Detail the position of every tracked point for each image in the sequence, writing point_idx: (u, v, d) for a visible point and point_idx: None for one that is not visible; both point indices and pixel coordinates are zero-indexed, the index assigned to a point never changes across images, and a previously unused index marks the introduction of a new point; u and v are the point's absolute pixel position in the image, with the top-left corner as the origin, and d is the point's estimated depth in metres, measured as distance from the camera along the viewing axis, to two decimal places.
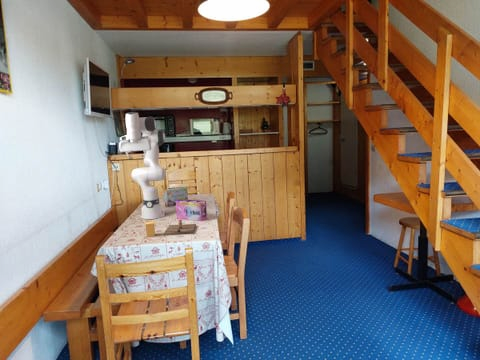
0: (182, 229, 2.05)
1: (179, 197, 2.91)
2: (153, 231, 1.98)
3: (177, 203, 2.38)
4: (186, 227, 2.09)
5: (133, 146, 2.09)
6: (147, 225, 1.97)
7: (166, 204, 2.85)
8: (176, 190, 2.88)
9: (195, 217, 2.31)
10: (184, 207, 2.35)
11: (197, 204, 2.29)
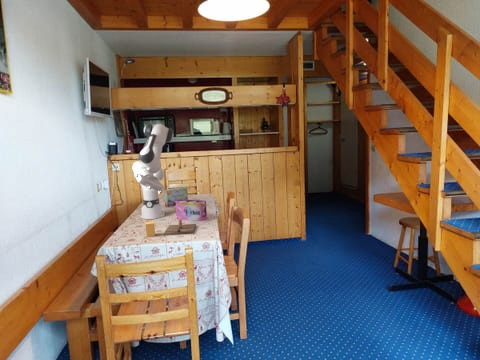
0: (182, 229, 2.05)
1: (179, 197, 2.91)
2: (153, 231, 1.98)
3: (177, 203, 2.37)
4: (186, 227, 2.09)
5: None
6: (147, 225, 1.97)
7: (166, 204, 2.85)
8: (176, 190, 2.88)
9: (194, 217, 2.31)
10: (184, 207, 2.35)
11: (197, 204, 2.29)
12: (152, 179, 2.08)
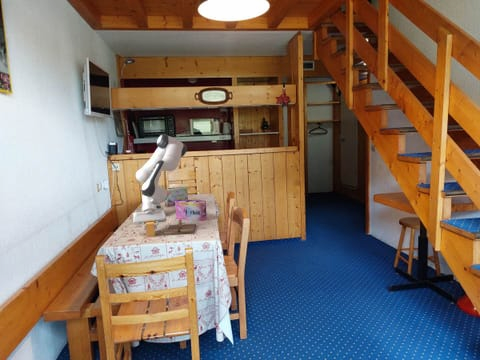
0: (182, 229, 2.05)
1: (179, 197, 2.91)
2: (153, 231, 1.98)
3: (176, 203, 2.37)
4: (186, 227, 2.09)
5: None
6: (147, 225, 1.97)
7: (166, 204, 2.85)
8: (176, 190, 2.88)
9: (194, 217, 2.32)
10: (183, 207, 2.35)
11: (197, 204, 2.29)
12: (152, 212, 2.04)
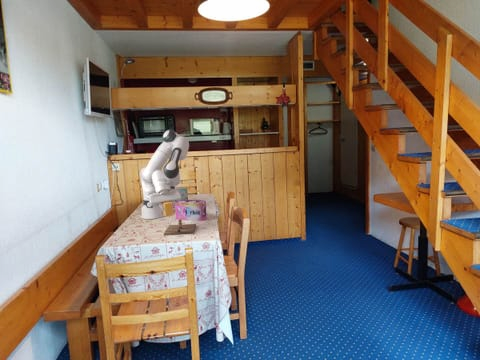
0: (182, 229, 2.05)
1: None
2: (172, 210, 2.01)
3: (176, 203, 2.37)
4: (186, 227, 2.09)
5: None
6: (166, 205, 1.99)
7: None
8: None
9: (194, 217, 2.32)
10: (183, 207, 2.35)
11: (197, 204, 2.29)
12: (166, 193, 2.06)
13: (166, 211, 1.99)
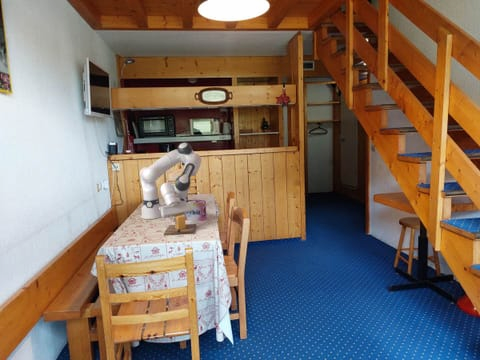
0: (182, 229, 2.05)
1: None
2: (184, 224, 2.06)
3: None
4: (186, 227, 2.09)
5: None
6: (179, 218, 2.04)
7: None
8: None
9: (194, 216, 2.32)
10: None
11: (197, 204, 2.30)
12: (177, 205, 2.11)
13: (179, 224, 2.04)
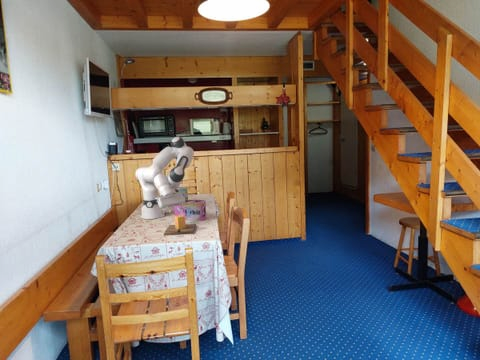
0: (182, 229, 2.05)
1: None
2: (184, 224, 2.06)
3: None
4: (186, 227, 2.09)
5: None
6: (179, 218, 2.04)
7: None
8: None
9: (194, 216, 2.32)
10: (183, 207, 2.34)
11: (197, 203, 2.30)
12: (173, 196, 2.19)
13: (179, 224, 2.04)
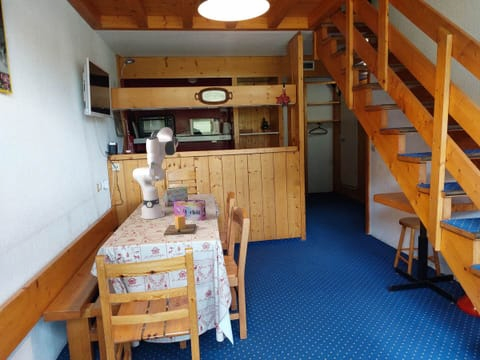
0: (182, 229, 2.05)
1: (179, 197, 2.91)
2: (184, 224, 2.06)
3: (175, 204, 2.36)
4: (186, 227, 2.09)
5: None
6: (179, 218, 2.04)
7: (166, 204, 2.85)
8: (176, 190, 2.88)
9: (194, 216, 2.32)
10: (183, 207, 2.34)
11: (197, 203, 2.30)
12: (158, 166, 2.16)
13: (179, 224, 2.04)
